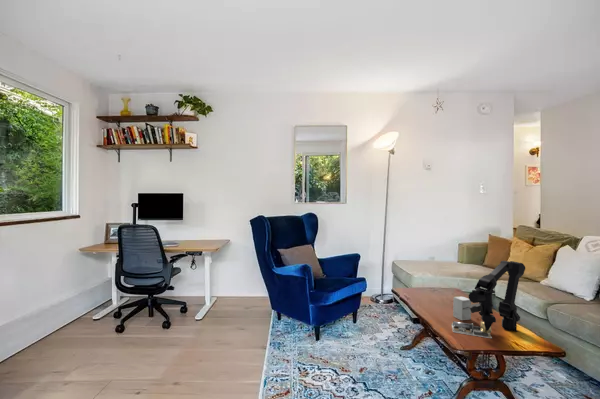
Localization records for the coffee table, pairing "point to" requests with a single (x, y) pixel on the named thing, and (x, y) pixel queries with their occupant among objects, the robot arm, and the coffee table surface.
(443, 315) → the coffee table surface
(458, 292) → the coffee table surface
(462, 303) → the supplement box
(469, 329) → the pipe run
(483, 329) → the valve
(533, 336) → the coffee table surface
